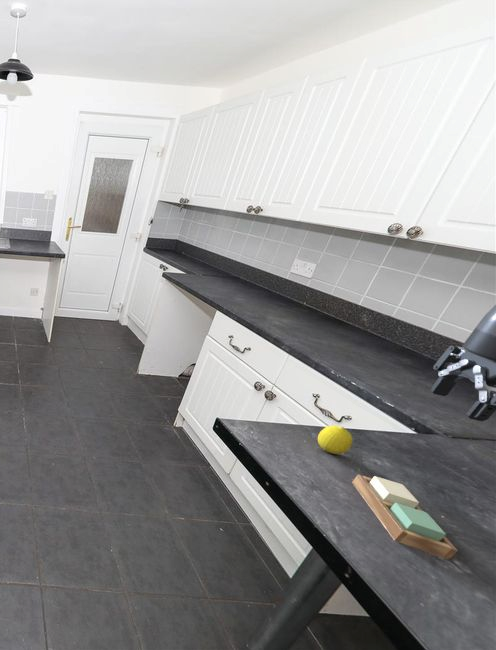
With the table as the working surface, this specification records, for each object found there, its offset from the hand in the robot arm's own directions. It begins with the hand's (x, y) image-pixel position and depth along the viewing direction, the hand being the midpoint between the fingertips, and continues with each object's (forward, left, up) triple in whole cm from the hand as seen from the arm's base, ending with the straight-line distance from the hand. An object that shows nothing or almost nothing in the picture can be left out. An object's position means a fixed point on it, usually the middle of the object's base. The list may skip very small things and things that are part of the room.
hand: (454, 405), depth 66 cm
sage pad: (+6, +15, -22) cm, 27 cm away
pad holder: (+6, +12, -22) cm, 26 cm away
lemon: (+10, -5, -22) cm, 25 cm away
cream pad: (+6, +9, -21) cm, 24 cm away
